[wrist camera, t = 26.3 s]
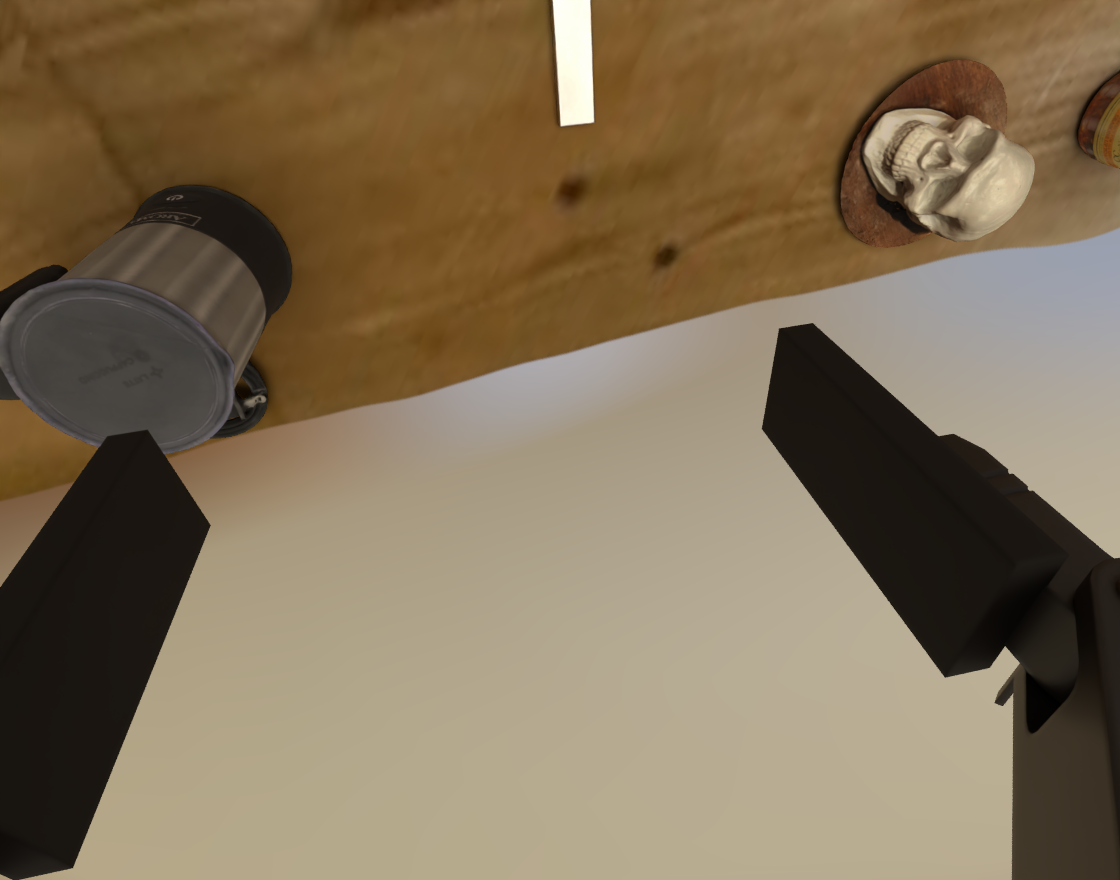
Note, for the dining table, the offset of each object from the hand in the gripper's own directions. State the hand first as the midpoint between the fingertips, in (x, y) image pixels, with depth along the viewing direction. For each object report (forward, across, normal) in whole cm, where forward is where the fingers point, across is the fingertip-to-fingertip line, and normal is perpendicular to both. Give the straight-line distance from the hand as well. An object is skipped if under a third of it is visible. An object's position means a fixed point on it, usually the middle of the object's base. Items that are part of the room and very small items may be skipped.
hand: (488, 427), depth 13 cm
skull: (+30, +32, -5) cm, 44 cm away
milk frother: (+30, -18, -9) cm, 36 cm away
